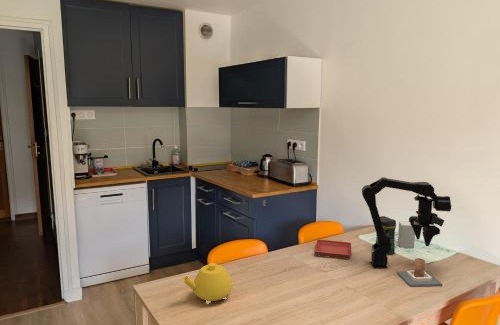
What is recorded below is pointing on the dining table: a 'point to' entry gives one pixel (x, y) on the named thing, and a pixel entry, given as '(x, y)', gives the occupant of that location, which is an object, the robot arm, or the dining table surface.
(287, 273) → the dining table surface
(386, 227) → the coffee jar
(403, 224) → the supplement box
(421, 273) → the terracotta pin
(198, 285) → the teapot
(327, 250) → the plant saucer
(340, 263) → the dining table surface
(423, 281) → the board
